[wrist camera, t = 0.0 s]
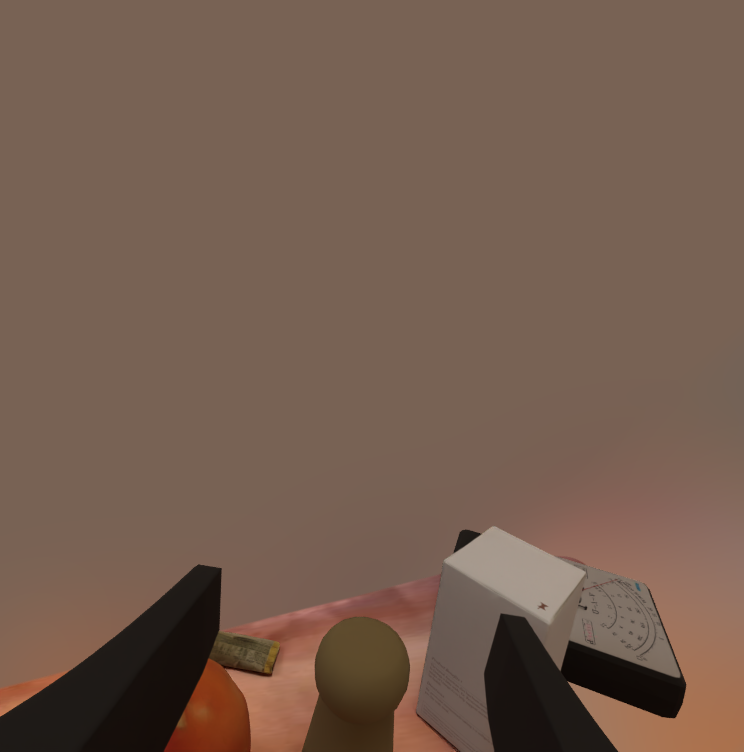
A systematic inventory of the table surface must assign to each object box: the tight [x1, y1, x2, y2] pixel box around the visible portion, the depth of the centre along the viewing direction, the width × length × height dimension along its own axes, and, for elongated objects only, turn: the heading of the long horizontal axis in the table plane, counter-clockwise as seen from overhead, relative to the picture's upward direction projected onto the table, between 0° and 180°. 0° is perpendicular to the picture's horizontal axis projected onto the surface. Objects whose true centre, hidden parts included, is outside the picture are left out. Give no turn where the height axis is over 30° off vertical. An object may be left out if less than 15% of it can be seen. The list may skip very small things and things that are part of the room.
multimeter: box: [453, 530, 686, 718], centre depth 43 cm, size 13×19×5 cm
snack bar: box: [209, 631, 280, 674], centre depth 36 cm, size 10×2×3 cm
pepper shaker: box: [302, 617, 410, 752], centre depth 26 cm, size 6×6×11 cm
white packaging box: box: [416, 526, 586, 752], centre depth 32 cm, size 7×7×13 cm
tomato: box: [164, 659, 251, 752], centre depth 25 cm, size 9×9×8 cm
